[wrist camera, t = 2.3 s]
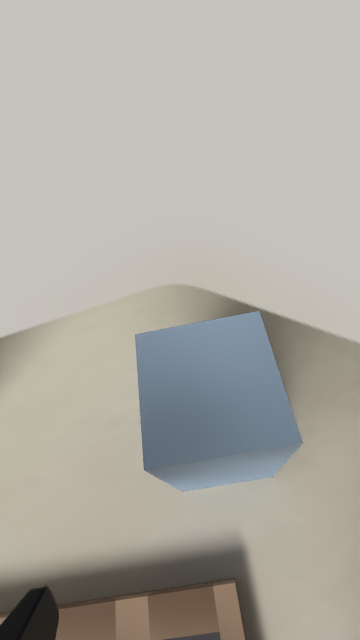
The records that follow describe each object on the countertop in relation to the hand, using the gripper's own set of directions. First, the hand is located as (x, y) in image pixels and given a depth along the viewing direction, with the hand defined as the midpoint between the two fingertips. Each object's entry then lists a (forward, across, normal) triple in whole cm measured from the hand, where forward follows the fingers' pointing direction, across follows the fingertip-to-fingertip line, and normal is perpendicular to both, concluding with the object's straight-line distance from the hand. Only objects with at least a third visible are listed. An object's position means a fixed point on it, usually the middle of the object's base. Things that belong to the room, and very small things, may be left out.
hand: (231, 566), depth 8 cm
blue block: (+11, 0, +4) cm, 11 cm away
